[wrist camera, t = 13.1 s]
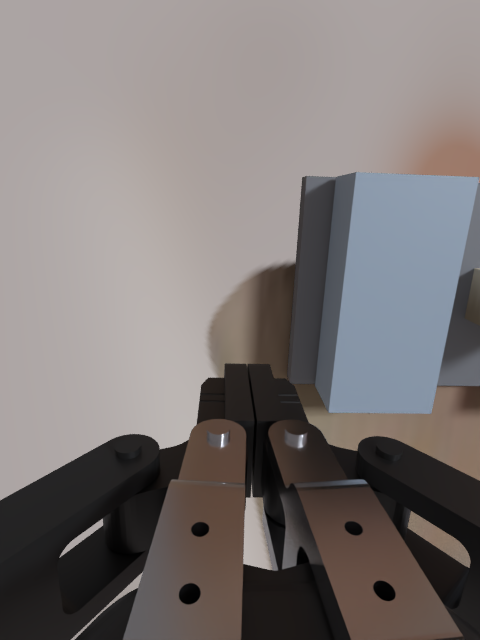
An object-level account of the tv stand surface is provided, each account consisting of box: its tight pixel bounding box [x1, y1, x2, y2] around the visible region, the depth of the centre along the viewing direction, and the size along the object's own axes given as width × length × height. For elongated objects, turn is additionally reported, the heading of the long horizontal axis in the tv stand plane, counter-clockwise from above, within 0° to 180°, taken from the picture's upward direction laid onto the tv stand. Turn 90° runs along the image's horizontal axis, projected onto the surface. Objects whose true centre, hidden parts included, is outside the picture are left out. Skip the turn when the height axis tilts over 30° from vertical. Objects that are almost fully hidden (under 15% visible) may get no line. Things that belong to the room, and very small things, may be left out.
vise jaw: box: [315, 172, 479, 414], centre depth 27 cm, size 16×8×4 cm, turn 178°
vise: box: [287, 176, 480, 386], centre depth 28 cm, size 16×24×6 cm, turn 88°
